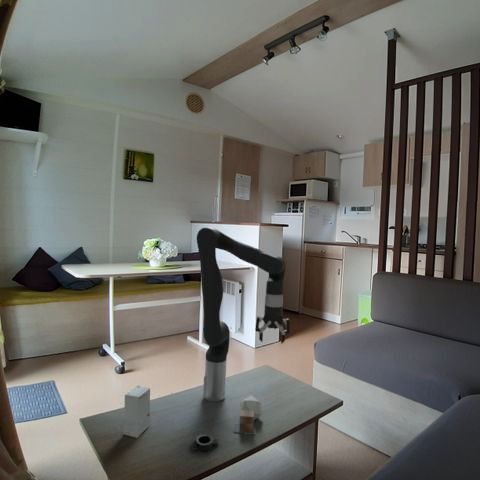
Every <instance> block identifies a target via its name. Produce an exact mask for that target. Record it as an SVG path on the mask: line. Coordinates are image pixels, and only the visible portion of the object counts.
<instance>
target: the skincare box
mask: <svg viewBox="0 0 480 480" xmlns="http://www.w3.org/2000/svg"><path fill="white" fill-rule="evenodd" d="M150 408H151V387H147V386H142V385H137V386H135V387H134V388H132V389H130V390H129V392H127V393H125V394H124V414H123V418H124V419H123V434H124V435H125V436H128V437H131V438H136V439H139V437H140V436H141V434H142V433H143V432H144V431H146V429H148V428H149V427H150V415H151V413H150V412H151V411H150V410H151V409H150Z"/></svg>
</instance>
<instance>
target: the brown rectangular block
mask: <svg viewBox="0 0 480 480" xmlns="http://www.w3.org/2000/svg"><path fill="white" fill-rule="evenodd" d="M239 414H240V413H239ZM254 423H255V420H254V411H246V410H241V414H240V415H239V424H240V430H239V431H241V432H250V433H253V426H255V425H254Z"/></svg>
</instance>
